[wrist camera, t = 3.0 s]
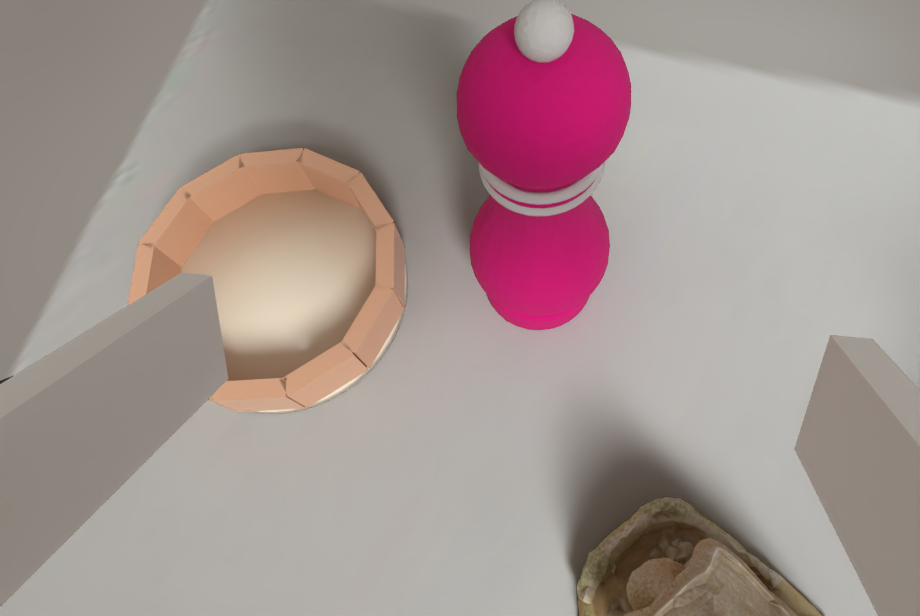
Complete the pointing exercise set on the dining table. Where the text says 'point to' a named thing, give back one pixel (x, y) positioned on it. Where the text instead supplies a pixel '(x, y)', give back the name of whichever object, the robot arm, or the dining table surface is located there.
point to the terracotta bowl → (285, 274)
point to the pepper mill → (542, 159)
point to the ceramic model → (680, 571)
